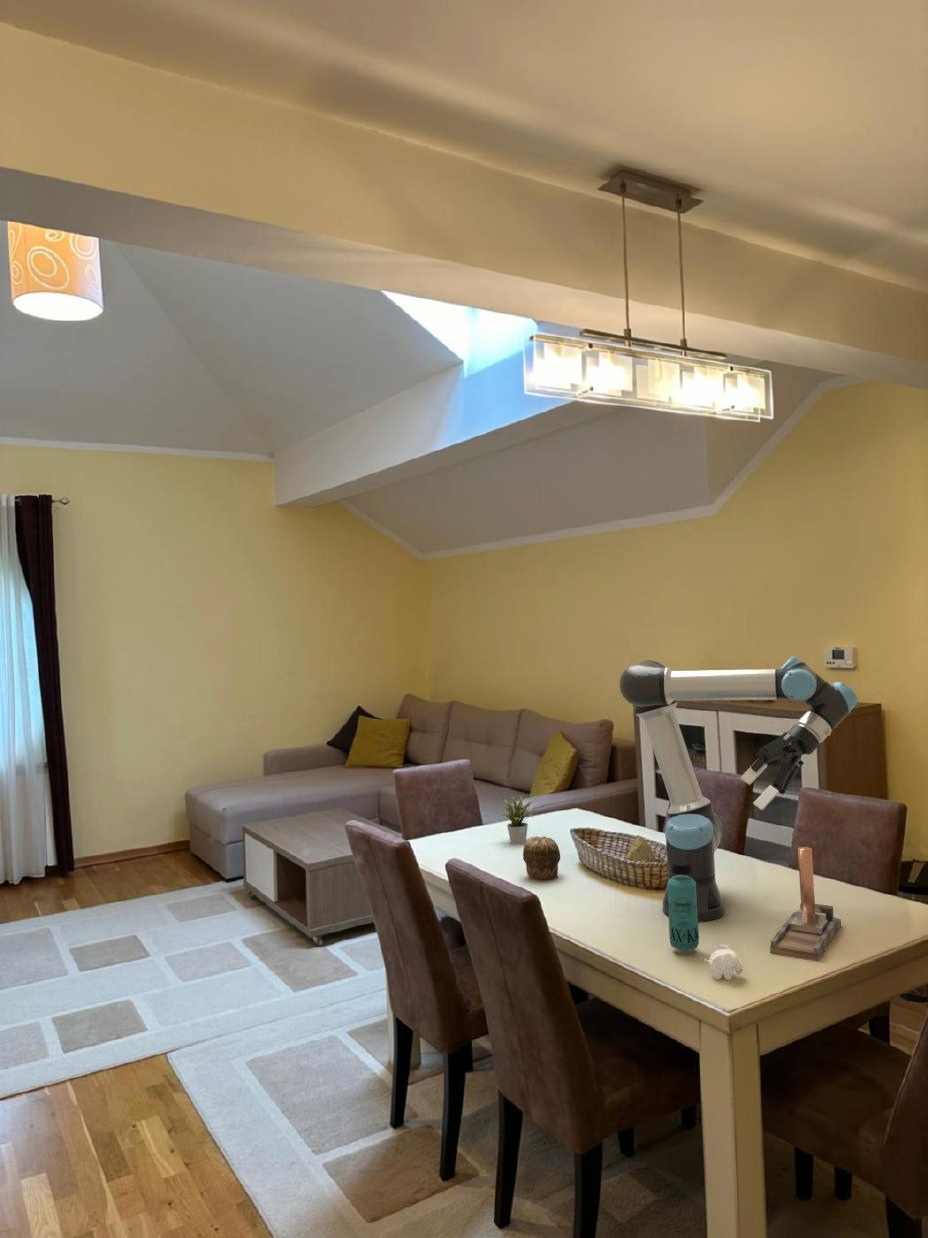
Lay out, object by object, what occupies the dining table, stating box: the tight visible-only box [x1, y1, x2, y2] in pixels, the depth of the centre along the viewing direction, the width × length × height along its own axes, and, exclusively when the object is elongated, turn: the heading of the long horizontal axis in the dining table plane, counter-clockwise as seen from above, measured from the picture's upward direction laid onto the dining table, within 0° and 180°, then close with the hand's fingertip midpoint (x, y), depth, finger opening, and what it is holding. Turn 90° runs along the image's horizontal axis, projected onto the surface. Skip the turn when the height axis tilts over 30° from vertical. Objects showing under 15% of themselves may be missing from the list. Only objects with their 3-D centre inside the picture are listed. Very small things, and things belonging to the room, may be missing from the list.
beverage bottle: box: [667, 861, 700, 951], centre depth 192 cm, size 6×7×20 cm
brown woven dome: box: [522, 835, 561, 882], centre depth 253 cm, size 11×11×12 cm
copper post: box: [790, 846, 828, 934], centre depth 198 cm, size 6×7×18 cm
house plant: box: [499, 795, 537, 845], centre depth 294 cm, size 14×14×16 cm
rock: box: [625, 834, 657, 863], centre depth 255 cm, size 11×9×10 cm
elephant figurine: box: [704, 944, 745, 981], centre depth 177 cm, size 7×8×6 cm
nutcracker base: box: [769, 903, 842, 962], centre depth 196 cm, size 24×10×5 cm, turn 145°
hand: (751, 794), depth 212 cm, fingers open, 13 cm apart
